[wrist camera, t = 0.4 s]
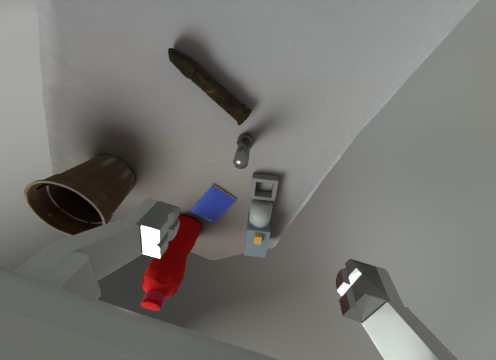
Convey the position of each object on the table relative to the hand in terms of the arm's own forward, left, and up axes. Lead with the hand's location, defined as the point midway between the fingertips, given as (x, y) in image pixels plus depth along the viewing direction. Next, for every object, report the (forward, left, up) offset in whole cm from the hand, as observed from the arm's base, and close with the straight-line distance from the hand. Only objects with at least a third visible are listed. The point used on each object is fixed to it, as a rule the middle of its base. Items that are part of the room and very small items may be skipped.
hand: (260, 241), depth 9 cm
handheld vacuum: (+32, +3, -38) cm, 50 cm away
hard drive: (+32, -11, -39) cm, 52 cm away
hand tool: (0, -11, -39) cm, 40 cm away
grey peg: (+11, -3, -38) cm, 40 cm away
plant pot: (+25, -39, -39) cm, 60 cm away
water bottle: (+43, -20, -39) cm, 61 cm away
